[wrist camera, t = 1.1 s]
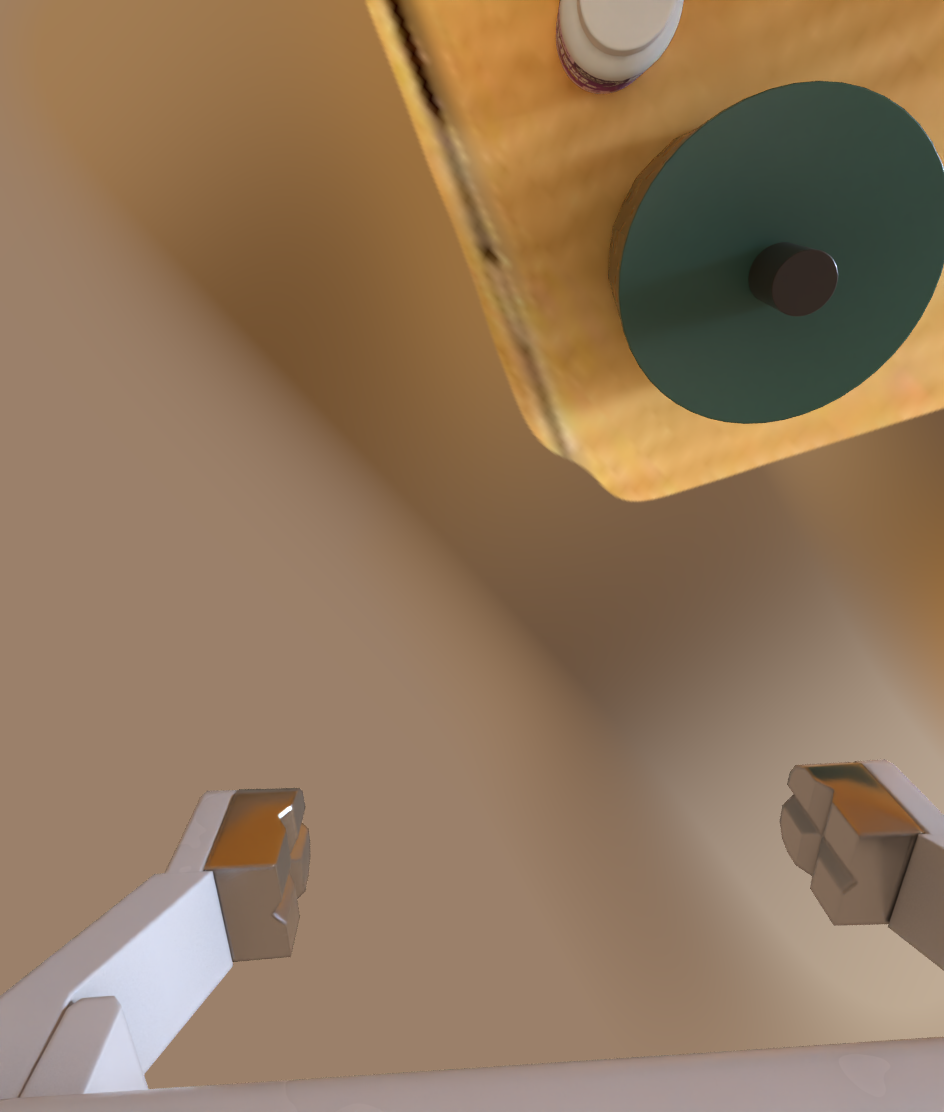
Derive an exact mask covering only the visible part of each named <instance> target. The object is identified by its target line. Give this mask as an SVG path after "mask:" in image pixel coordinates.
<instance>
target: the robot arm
mask: <svg viewBox="0 0 944 1112" xmlns="http://www.w3.org/2000/svg"><path fill="white" fill-rule="evenodd" d="M787 785H788V786H789V788H790V789H791V791H792V792H793V794H794V795H792V797H790V799H788V800H787V801H786V802H785V803H784V805H782V811H781V817H780V826H781V833H782V839H783V842H784V844H785V847H786V849H787V852H788V853H789V855H790V857H791V858H792V860H793V862H794V863H795V865H796V866H798V867H799V868H801V869H802V870H804V871H805V872H807V873H808V874H810V875H811V876H812V881H811V887H810V889H811V890H812V892H813V893H814V895H815V897H816V898H817V900H818V901H819V903H820V904H821V906H822V907H823V909H824V911H825V912H826V914H827V915H828V917H829V919H830V920H831V922H832V923H833V925H870V924H889V925H888V927H889V928H890V929H891V930H893V931H894V932H895V933H897V934H898V935H899V936H900V937H902V938H903V939H904V940H905V941H907V942H908V943H909V944H911V945H912V946H913V947H914V948H916V949H917V950H918V951H919V952H921V953H922V954H923V955H925V956H926V957H927V958H928V959H930V960H931V961H932V962H933V963H935V964H936V965H937V966H939V967H940V968H941V969H942V970H944V815H943V814H942V813H941V812H940V811H939V810H938V809H937V808H936V807H935V806H934V805H933V804H932V802H931V801H930V800H928V799H927V798H926V796H925V795H924V794H923V793H922V792H921V791H920V790H919V789H918V788H917V787H916V786H915V785H914V784H913V783H912V782H911V781H910V780H909V779H908V778H907V777H906V776H905V775H904V774H903V773H902V772H901V771H900V770H899V769H898V768H897V767H896V766H895V765H894V764H892V763H890V762H888V761H887V760H871V761H870V760H869V761H855V762H845V763H825V764H807V765H795V766H794V768H793V769H792V770H791V772H790V774H789V778H788V783H787ZM304 811H305V802H304V796H303V791H302V790H301V789H300V788H283V789H241V790H240V789H239V790H226V791H225V790H222V791H207V792H205V793H204V794H203V795H202V796H201V797H200V799H199V801H198V803H197V805H196V807H195V809H194V811H193V814H192V816H191V818H190V820H189V822H188V824H187V826H186V828H185V831H184V833H183V835H182V837H181V839H180V841H179V844H178V845H177V848H176V850H175V852H174V854H173V856H172V858H171V860H170V862H169V865H168V867H167V869H166V871H165V873H163V874H154V875H153V876H151V877H150V878H149V879H148V880H146V881H145V882H144V883H143V884H141V885H140V886H139V887H138V888H136V889H135V890H134V891H132V892H131V893H130V894H129V895H127V896H126V897H125V898H124V899H122V900H121V901H120V902H119V903H117V904H116V905H115V906H114V907H112V908H111V909H110V910H109V911H107V912H106V913H105V914H103V915H102V916H101V917H100V918H98V919H97V920H96V921H94V922H93V923H92V924H91V925H89V926H88V927H87V928H86V929H84V930H83V931H82V932H81V933H79V934H78V935H77V936H75V937H74V938H73V939H72V940H70V941H69V942H68V943H67V944H66V945H64V946H63V947H62V948H61V949H59V950H58V951H57V952H56V953H54V954H53V955H52V956H50V957H49V958H48V959H46V960H45V961H44V962H43V963H41V964H40V965H39V966H38V967H36V968H35V969H34V970H32V971H31V972H30V973H29V974H27V975H26V976H25V977H24V978H22V979H21V980H20V981H19V982H17V983H16V984H15V985H13V986H12V987H11V988H10V989H8V990H7V991H6V992H5V993H3V994H2V995H1V996H0V1112H944V1037H932V1038H918V1039H917V1038H916V1039H901V1040H888V1041H872V1042H857V1043H843V1044H829V1045H814V1046H799V1047H783V1048H768V1049H754V1050H740V1051H724V1052H710V1053H709V1052H708V1053H693V1054H679V1055H664V1056H648V1057H632V1058H617V1059H603V1060H586V1061H572V1062H571V1061H570V1062H557V1063H556V1062H555V1063H541V1064H525V1065H509V1066H494V1067H481V1068H480V1067H479V1068H464V1069H449V1070H433V1071H419V1072H403V1073H388V1074H373V1075H358V1076H343V1077H328V1078H312V1079H299V1080H283V1081H268V1082H252V1083H237V1084H222V1085H207V1086H191V1087H176V1088H161V1089H148V1086H147V1083H146V1080H145V1077H144V1074H145V1072H146V1071H147V1070H148V1069H149V1068H150V1066H151V1065H152V1064H153V1063H154V1061H155V1060H156V1059H157V1057H159V1055H160V1054H161V1053H162V1052H163V1050H164V1049H165V1048H166V1047H167V1046H168V1044H169V1043H170V1042H171V1041H172V1039H173V1038H174V1037H175V1036H176V1035H177V1033H178V1032H179V1031H180V1030H181V1028H182V1027H183V1026H184V1025H185V1024H186V1022H187V1021H188V1020H189V1019H190V1017H191V1016H192V1015H193V1014H194V1013H195V1011H196V1010H197V1009H198V1008H199V1007H200V1005H201V1004H202V1003H203V1002H204V1000H205V999H206V998H207V997H208V996H209V994H210V993H211V992H212V991H213V989H214V988H215V987H216V986H217V985H218V983H219V982H220V981H221V980H222V979H223V977H224V976H225V975H226V973H227V972H228V971H229V970H230V969H231V967H232V966H233V963H232V962H238V961H249V960H260V959H272V958H283V957H291V954H292V949H293V945H294V940H295V935H296V932H297V927H298V923H299V918H300V915H299V907H298V901H297V899H298V898H299V897H300V896H301V895H302V894H303V893H304V892H305V890H306V885H307V880H308V875H309V864H310V837H309V829H308V828H307V827H306V826H305V825H304V824H303V823H302V819H303V815H304Z"/></svg>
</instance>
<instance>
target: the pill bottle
mask: <svg viewBox="0 0 944 1112" xmlns="http://www.w3.org/2000/svg"><path fill="white" fill-rule="evenodd" d="M683 1H684V0H560V2H559V10H558V17H557V24H556V45H557V51H558V55H559V58H560V61H561V64H562V66H563V68H564V71H565V72H566V74H567V75H568V77H569V78H570V79H571V80H572V81H573V82H574V83H575V84H576V85H577V86H579V87H580V88H582V89H584V90H586V91H588V92H591V93H595V94H608V93H613V92H616V91H618V90H621V89H623V88H625V87H626V86H628V85H630V84H631V83H632V82H633V81H635V80H636V79H637V78H638V77H639V76H640V75H641V74H643V73H644V72H645V71H646V70H647V69H648V68H649V67H650V66H651V65H652V64H653V63H655V62H656V61H657V60H658V59H659V58H660V57H661V55H662V54H663V52H664V51H665V50H666V48H667V47H668V45H669V43H670V41H671V39H672V38H673V36H674V33H675V31H676V29H677V26H678V24H679V20H680V17H681V13H682V8H683Z"/></svg>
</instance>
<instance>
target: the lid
mask: <svg viewBox="0 0 944 1112" xmlns="http://www.w3.org/2000/svg"><path fill="white" fill-rule="evenodd" d="M943 265H944V168H943V165H942V161H941V159H940V157H939V155H938V153H937V151H936V149H935V147H934V145H933V143H932V141H931V139H930V138H929V137H928V135H927V134H926V132H925V131H924V130H923V128H922V127H921V125H920V124H919V123H918V122H917V121H916V120H915V119H914V118H913V117H912V116H911V115H910V114H909V113H908V112H907V111H906V110H905V109H903V108H902V107H900V106H899V105H897V104H896V103H894V102H893V101H891V100H890V99H888V98H887V97H885V96H883V95H881V94H878V93H876V92H874V91H871V90H869V89H867V88H864V87H860V86H856V85H851V84H847V83H843V82H828V81H812V82H801V83H793V84H789V85H785V86H780V87H776V88H772V89H769V90H766V91H764V92H761V93H758V94H756V95H753V96H751V97H748V98H746V99H743V100H741V101H739V102H738V103H736V104H734V105H732V106H730V107H728V108H727V109H725V110H723V111H721V112H720V113H718V114H717V115H715V116H714V117H713V118H711V119H710V120H708V121H707V122H705V123H704V124H703V125H701V126H700V127H699V128H698V129H697V130H695V131H694V132H693V133H692V134H691V135H690V136H689V137H688V138H687V139H685V140H684V141H683V142H682V143H681V144H680V145H679V146H678V147H677V148H676V150H675V151H674V152H673V153H672V154H671V155H670V156H669V158H668V159H667V160H666V161H665V162H664V163H663V165H662V166H661V167H660V169H659V170H658V172H657V173H656V175H655V176H654V177H653V179H652V180H651V182H650V183H649V185H648V187H647V188H646V190H645V192H644V194H643V196H642V197H641V199H640V201H639V203H638V205H637V207H636V209H635V212H634V214H633V217H632V219H631V221H630V224H629V226H628V230H627V233H626V236H625V240H624V243H623V247H622V251H621V258H620V264H619V270H618V290H617V292H618V304H619V314H620V318H621V323H622V327H623V332H624V334H625V337H626V340H627V342H628V345H629V348H630V350H631V352H632V354H633V356H634V357H635V359H636V361H637V363H638V365H639V367H640V368H641V369H642V371H643V372H644V373H645V375H646V376H647V377H648V379H649V380H650V381H651V382H652V383H653V384H654V385H655V386H656V387H657V388H658V389H659V390H660V391H661V392H662V393H663V394H664V395H665V396H667V397H668V398H669V399H671V400H672V401H673V402H675V403H676V404H678V405H680V406H682V407H683V408H685V409H687V410H689V411H691V412H693V413H696V414H698V415H701V416H704V417H707V418H710V419H714V420H719V421H723V422H731V423H742V424H750V423H767V422H773V421H779V420H785V419H788V418H792V417H796V416H799V415H803V414H805V413H808V412H810V411H813V410H815V409H818V408H821V407H823V406H825V405H827V404H829V403H830V402H832V401H834V400H836V399H838V398H840V397H842V396H843V395H845V394H846V393H848V392H849V391H851V390H852V389H854V388H856V387H857V386H859V385H860V384H861V383H862V382H864V381H865V380H866V379H867V378H869V377H870V376H871V375H872V374H874V373H875V372H876V371H877V370H878V369H879V368H880V367H881V366H882V365H883V364H884V363H885V362H886V361H887V360H888V359H889V358H890V357H891V356H892V355H893V354H894V353H895V352H896V351H897V349H898V348H899V347H900V346H901V345H902V343H903V342H904V341H905V340H906V339H907V337H908V336H909V335H910V333H911V332H912V330H913V329H914V327H915V326H916V324H917V323H918V321H919V320H920V318H921V316H922V315H923V313H924V311H925V309H926V307H927V305H928V303H929V301H930V300H931V298H932V296H933V293H934V291H935V288H936V286H937V283H938V281H939V278H940V276H941V272H942V269H943Z"/></svg>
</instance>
